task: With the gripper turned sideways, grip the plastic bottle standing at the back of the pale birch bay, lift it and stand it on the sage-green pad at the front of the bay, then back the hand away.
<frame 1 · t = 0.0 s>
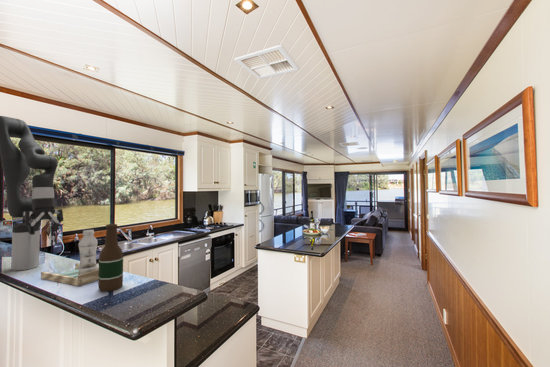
hand: (44, 233, 113), 17 cm above the countertop, tool pointing down, fingers open, 8 cm apart
plastic bottle: (87, 278, 104), resting on bay
beer bottle: (110, 288, 93), on the countertop
bay: (78, 276, 106), on the countertop
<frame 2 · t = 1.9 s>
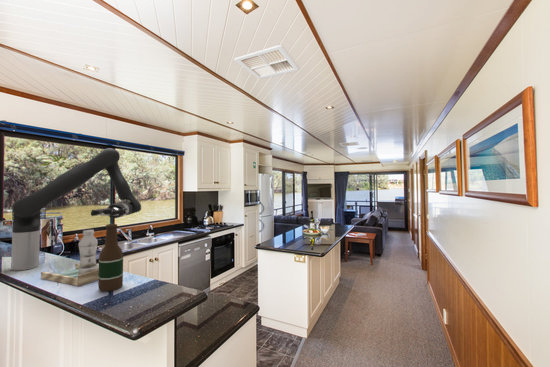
hand: (102, 213, 115), 26 cm above the countertop, tool horizontal, fingers open, 8 cm apart
nothing on the countertop moved.
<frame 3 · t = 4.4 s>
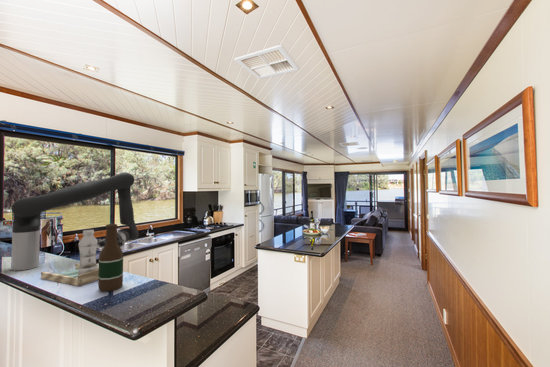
hand: (98, 247, 112), 11 cm above the countertop, tool horizontal, fingers open, 8 cm apart
nothing on the countertop moved.
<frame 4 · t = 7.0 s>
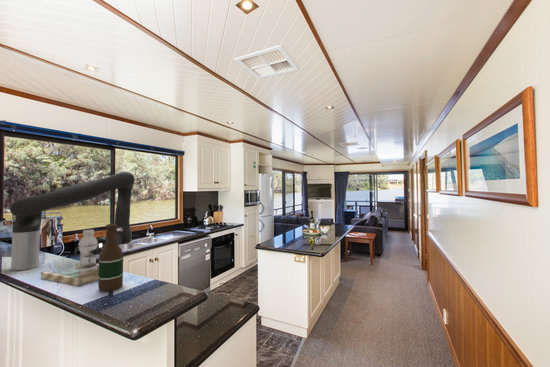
hand: (84, 253, 102), 11 cm above the countertop, tool horizontal, fingers closed on plastic bottle, 6 cm apart
plastic bottle: (87, 278, 104), resting on bay, touching gripper
everything else where it was.
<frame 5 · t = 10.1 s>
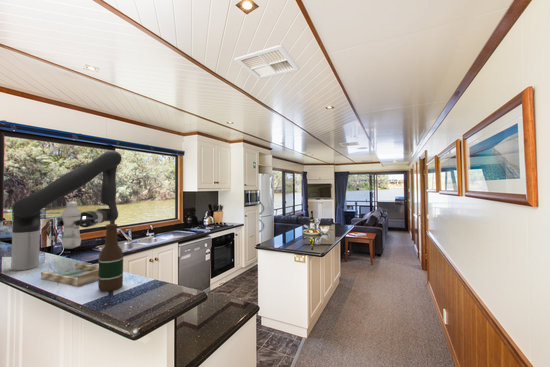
hand: (68, 223, 106), 23 cm above the countertop, tool horizontal, fingers closed on plastic bottle, 6 cm apart
plastic bottle: (71, 248, 108), point 11 cm above the countertop, touching gripper
everything else where it was.
when the fingers open (12 cm above the countertop, at t = 13.4 s): plastic bottle stays where it is, resting on bay.
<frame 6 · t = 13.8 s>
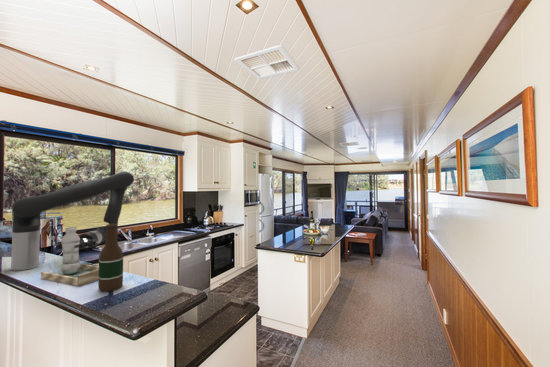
hand: (68, 247, 106), 13 cm above the countertop, tool horizontal, fingers open, 8 cm apart
plastic bottle: (71, 274, 108), resting on bay
everything else where it was.
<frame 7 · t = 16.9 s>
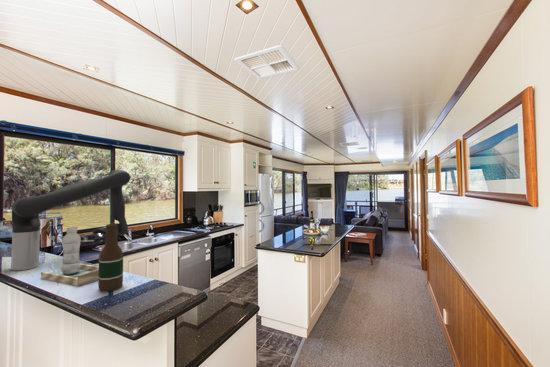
hand: (85, 240, 119), 13 cm above the countertop, tool horizontal, fingers open, 8 cm apart
nothing on the countertop moved.
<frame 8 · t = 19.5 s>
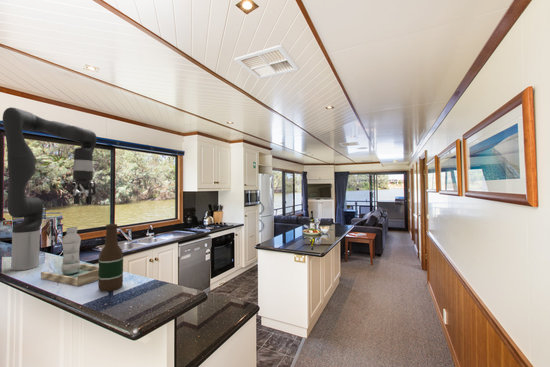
hand: (82, 204, 118), 30 cm above the countertop, tool pointing down, fingers open, 8 cm apart
nothing on the countertop moved.
at the end: plastic bottle inside the target area (0.2 cm from its centre), resting on bay; plastic bottle tilted 0°; the gripper is holding nothing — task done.
